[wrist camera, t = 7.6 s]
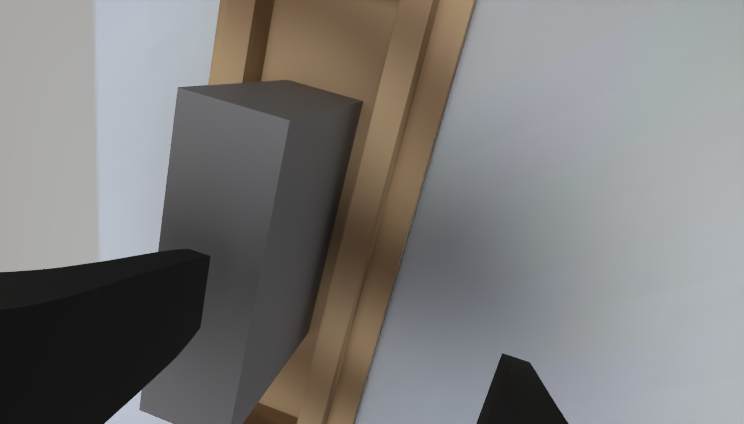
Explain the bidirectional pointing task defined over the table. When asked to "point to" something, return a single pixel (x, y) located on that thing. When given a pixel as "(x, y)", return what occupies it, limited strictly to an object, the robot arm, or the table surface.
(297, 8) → the wooden tray
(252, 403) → the grey rectangular prism
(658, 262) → the table surface
